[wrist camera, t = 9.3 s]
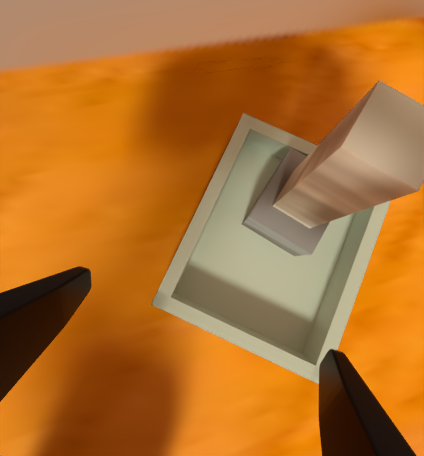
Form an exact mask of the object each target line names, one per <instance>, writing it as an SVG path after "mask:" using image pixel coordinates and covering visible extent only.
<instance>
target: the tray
mask: <svg viewBox="0 0 424 456" xmlns="http://www.w3.org/2000/svg"><path fill="white" fill-rule="evenodd" d="M316 147H317V145H315V144H313V143H311V142H308V141H306V140H304V139H302V138H299V137H297V136H295V135H293V134H290V133H288V132H286V131H284V130H281V129H279V128H277V127H274V126H272V125H270V124H268V123H265V122H263V121H261V120H259V119H256V118H254V117H252V116H250V115H247V114H245V113H243V115H242V117H241V119H240V121H239V123H238V125H237V127H236V129H235V131H234V134H233V136H232V138H231V140H230V142H229V144H228V146H227V148H226V150H225V152H224V154H223V156H222V158H221V161H220V163H219V165H218V167H217V169H216V171H215V173H214V175H213V177H212V179H211V181H210V183H209V185H208V188H207V190H206V192H205V194H204V196H203V198H202V200H201V202H200V204H199V206H198V208H197V210H196V212H195V215H194V217H193V219H192V221H191V223H190V225H189V227H188V229H187V231H186V233H185V235H184V237H183V239H182V242H181V244H180V246H179V248H178V250H177V252H176V254H175V256H174V258H173V260H172V262H171V264H170V266H169V269H168V271H167V273H166V275H165V277H164V279H163V281H162V283H161V285H160V287H159V289H158V291H157V293H156V296H155V298H154V300H153V302H152V304H151V305H153V306H155V307H157V308H159V309H162V310H164V311H166V312H168V313H170V314H172V315H174V316H176V317H178V318H180V319H183V320H185V321H187V322H189V323H191V324H193V325H195V326H197V327H199V328H202V329H204V330H206V331H208V332H210V333H212V334H214V335H216V336H218V337H220V338H223V339H225V340H227V341H229V342H231V343H233V344H235V345H237V346H239V347H241V348H244V349H246V350H248V351H250V352H252V353H254V354H256V355H258V356H260V357H262V358H265V359H267V360H269V361H271V362H273V363H275V364H277V365H279V366H281V367H284V368H286V369H288V370H290V371H292V372H294V373H296V374H298V375H300V376H302V377H305V378H307V379H309V380H311V381H313V382H315V383H317V384H319V366H320V363H321V361H322V360H323V358H324V357H325V355H326V353H327V352H328V351H329V350H330V349H334V350H337V349H338V346H339V344H340V341H341V338H342V335H343V333H344V330H345V327H346V324H347V321H348V319H349V316H350V313H351V310H352V307H353V305H354V302H355V299H356V296H357V294H358V291H359V288H360V285H361V282H362V280H363V277H364V274H365V271H366V268H367V266H368V263H369V260H370V257H371V255H372V252H373V249H374V246H375V243H376V241H377V238H378V235H379V232H380V229H381V227H382V224H383V221H384V218H385V215H386V213H387V210H388V207H389V204H390V202H391V201H388V202H385V203H382V204H379V205H376V206H373V207H370V208H367V209H364V210H362V211H359V212H356V213H353V214H350V215H347V216H344V217H341V218H338V219H335V220H333V221H330V223H329V225H328V226H327V228H326V230H325V232H324V234H323V236H322V237H321V239H320V241H319V243H318V245H317V246H316V248H315V250H314V252H313V254H312V255H302V256H293V255H291V254H290V253H288V252H286V251H285V250H283V249H281V248H280V247H278V246H276V245H275V244H273V243H272V242H270V241H268V240H267V239H265V238H263V237H262V236H260V235H258V234H257V233H255V232H254V231H252V230H250V229H249V228H247V227H245V226H244V225H242V223H243V222H244V220H245V218H246V217H247V215H248V213H249V212H250V210H251V208H252V207H253V205H254V204H255V202H256V200H257V199H258V197H259V195H260V194H261V192H262V190H263V189H264V187H265V185H266V184H267V182H268V181H269V179H270V177H271V176H272V174H273V172H274V171H275V169H276V167H277V166H278V164H279V163H280V162H281V160H282V159H283V158H284V156H285V155H286V154H287V152H288V151H289V150H290V148H293V149H294V150H296V151H298V152H300V153H301V154H303V155H305V156H306V157H307V156H308V155H309V154H310V153H311V152H312V151H313V150H314V149H315V148H316Z"/></svg>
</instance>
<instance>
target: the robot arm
mask: <svg viewBox="0 0 424 456" xmlns="http://www.w3.org/2000/svg"><path fill="white" fill-rule="evenodd" d="M90 289H91V272H90V270H89V269H87V268H84V267H80V266H79V267H75V268H72V269H69V270H67V271H64V272H61V273H58V274H55V275H52V276H49V277H46V278H43V279H40V280H37V281H34V282H31V283H28V284H25V285H22V286H20V287H17V288H14V289H11V290H8V291H5V292H2V293H0V402H1V400H2V399H3V398H4V397H5V396H6V395H7V393H8V392H9V391H10V390H11V389H12V387H13V386H14V385H15V384H16V383H17V382H18V380H19V379H20V378H21V377H22V376H23V375H24V373H25V372H26V371H27V370H28V369H29V368H30V366H31V365H32V364H33V363H34V362H35V361H36V359H37V358H38V357H39V356H40V355H41V354H42V352H43V351H44V350H45V349H46V348H47V347H48V345H49V344H50V343H51V342H52V341H53V340H54V338H55V337H56V336H57V335H58V334H59V333H60V331H61V330H62V329H63V328H64V327H65V325H66V324H67V323H68V321H69V320H70V318H71V317H72V316H73V314H74V313H75V311H76V310H77V308H78V307H79V306H80V304H81V303H82V301H83V300H84V298H85V297H86V296H87V294H88V293H89V291H90ZM319 427H320V437H321V448H322V456H416V454H415V453H414V452H413V450H412V449H411V447H410V446H409V444H408V443H407V442H406V440H405V439H404V437H403V436H402V435H401V433H400V432H399V430H398V429H397V427H396V426H395V425H394V423H393V422H392V420H391V419H390V418H389V416H388V415H387V413H386V412H385V410H384V409H383V408H382V406H381V405H380V403H379V402H378V401H377V399H376V398H375V396H374V395H373V393H372V392H371V391H370V389H369V388H368V386H367V385H366V384H365V382H364V381H363V379H362V378H361V376H360V375H359V374H358V372H357V371H356V369H355V368H354V367H353V365H352V364H351V362H350V361H349V359H348V358H347V357H346V355H345V354H344V353H343V352H341V351H337V350H334V349H330V350H329V351H328V352H327V353H326V355H325V357H324V358H323V360H322V361H321V363H320V366H319Z"/></svg>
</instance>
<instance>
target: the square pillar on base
mask: <svg viewBox="0 0 424 456" xmlns="http://www.w3.org/2000/svg"><path fill="white" fill-rule="evenodd" d="M423 182H424V105H422V104H420V103H419V102H417V101H415V100H413V99H412V98H410V97H408V96H406V95H404V94H403V93H401V92H399V91H397V90H396V89H394V88H392V87H390V86H388V85H387V84H385V83H383V82H381V81H378V82H377V83H376V84H375V86H374V87H373V88H372V89H371V90H370V91H369V92H368V93H367V94H366V95H365V96H364V97H363V98H362V99H361V100H360V101H359V102H358V103H357V104H356V106H355V107H354V108H353V109H352V110H351V111H350V112H349V113H348V114H347V115H346V116H345V117H344V118H343V119H342V120H341V121H340V122H339V123H338V124H337V126H336V127H335V128H334V129H333V130H332V131H331V132H330V133H329V134H328V135H327V136H326V137H325V138H324V139H323V140H322V141H321V142H320V143H319V144H318V146H317V147H316V148H315V149H314V150H313V151H312V152H311V153H310V154H309V155H308V156H307V157H306V156H305V155H303V154H301V153H300V152H298V151H296V150H294V149H293V148H290V150H289V151H288V152H287V154H286V155H285V156H284V158H283V159H282V160H281V162H280V163H279V164H278V166H277V167H276V169H275V171H274V172H273V174H272V176H271V177H270V179H269V181H268V182H267V184H266V185H265V187H264V189H263V190H262V192H261V194H260V195H259V197H258V199H257V200H256V202H255V204H254V205H253V207H252V208H251V210H250V212H249V213H248V215H247V217H246V218H245V220H244V222H243V223H242V225H244V226H245V227H247V228H249V229H250V230H252V231H254V232H255V233H257V234H258V235H260V236H262V237H263V238H265V239H267V240H268V241H270V242H272V243H273V244H275V245H276V246H278V247H280V248H281V249H283V250H285V251H286V252H288V253H290V254H291V255H293V256H302V255H312V254H313V252H314V250H315V248H316V246H317V245H318V243H319V241H320V239H321V237H322V236H323V234H324V232H325V230H326V228H327V226H328V225H329V223H330V221H333V220H335V219H338V218H341V217H344V216H347V215H350V214H353V213H356V212H359V211H362V210H364V209H367V208H370V207H373V206H376V205H379V204H382V203H385V202H388V201H391V200H393V199H396V198H399V197H402V196H405V195H408V194H411V193H414V192H417V191H419V189H420V187H421V186H422V184H423Z"/></svg>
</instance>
